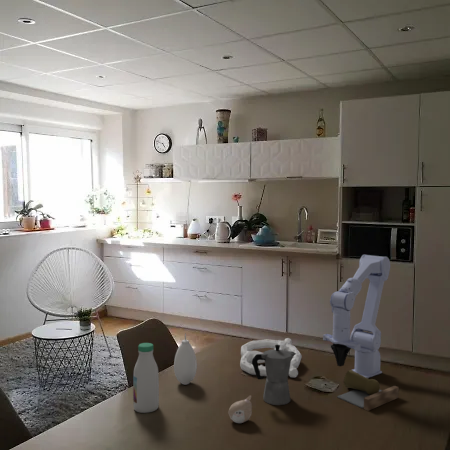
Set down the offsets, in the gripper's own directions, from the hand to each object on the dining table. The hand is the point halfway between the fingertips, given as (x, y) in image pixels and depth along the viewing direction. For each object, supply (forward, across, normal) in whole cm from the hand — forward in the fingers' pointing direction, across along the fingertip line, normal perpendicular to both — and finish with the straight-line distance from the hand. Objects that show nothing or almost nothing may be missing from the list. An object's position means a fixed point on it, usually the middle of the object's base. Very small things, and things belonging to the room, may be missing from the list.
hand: (340, 365), depth 165 cm
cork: (+4, +2, +2) cm, 5 cm away
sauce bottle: (+8, -34, -42) cm, 54 cm away
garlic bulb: (+8, -1, -44) cm, 45 cm away
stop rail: (+7, +17, 0) cm, 18 cm away
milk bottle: (+8, -25, -62) cm, 67 cm away
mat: (+7, +10, 0) cm, 13 cm away
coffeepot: (+8, -6, -26) cm, 28 cm away
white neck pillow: (+8, -30, -5) cm, 31 cm away
